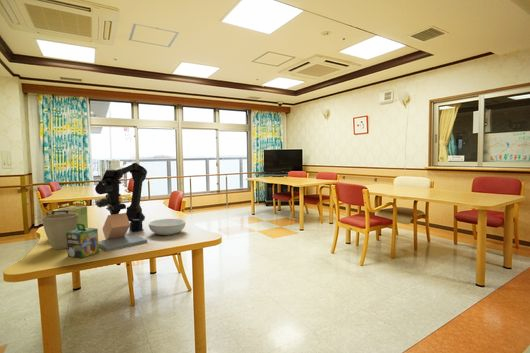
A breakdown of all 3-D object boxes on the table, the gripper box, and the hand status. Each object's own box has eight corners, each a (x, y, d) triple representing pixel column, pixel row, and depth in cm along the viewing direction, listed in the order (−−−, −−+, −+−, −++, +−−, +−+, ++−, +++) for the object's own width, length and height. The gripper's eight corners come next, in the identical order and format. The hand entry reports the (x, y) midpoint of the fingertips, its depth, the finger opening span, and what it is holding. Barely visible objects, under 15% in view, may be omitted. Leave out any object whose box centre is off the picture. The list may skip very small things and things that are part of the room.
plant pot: (86, 243, 149) (85, 213, 148) (60, 252, 135) (59, 219, 134) (62, 241, 152) (61, 212, 151) (35, 250, 138) (33, 218, 137)
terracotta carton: (119, 226, 163) (125, 212, 156) (123, 237, 159) (130, 224, 152) (102, 228, 156) (108, 215, 149) (106, 241, 153) (112, 227, 146)
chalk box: (99, 252, 135) (98, 221, 134) (81, 258, 127) (80, 226, 126) (85, 250, 138) (84, 220, 137) (66, 256, 130) (65, 224, 129)
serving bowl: (171, 239, 158) (171, 227, 157) (140, 236, 164) (140, 224, 164) (192, 230, 177) (192, 219, 177) (164, 228, 184) (164, 217, 184)
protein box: (88, 231, 176) (87, 206, 175) (69, 237, 160) (68, 210, 160) (72, 230, 177) (71, 205, 176) (52, 237, 161) (50, 210, 160)
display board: (134, 236, 162) (134, 234, 162) (147, 242, 152) (147, 239, 152) (95, 244, 148) (95, 241, 148) (106, 251, 137) (106, 248, 137)
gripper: (91, 192, 156) (91, 220, 156) (103, 194, 143) (103, 225, 144) (113, 190, 164) (113, 217, 164) (126, 193, 151) (126, 222, 152)
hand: (113, 220), depth 156 cm, fingers closed
